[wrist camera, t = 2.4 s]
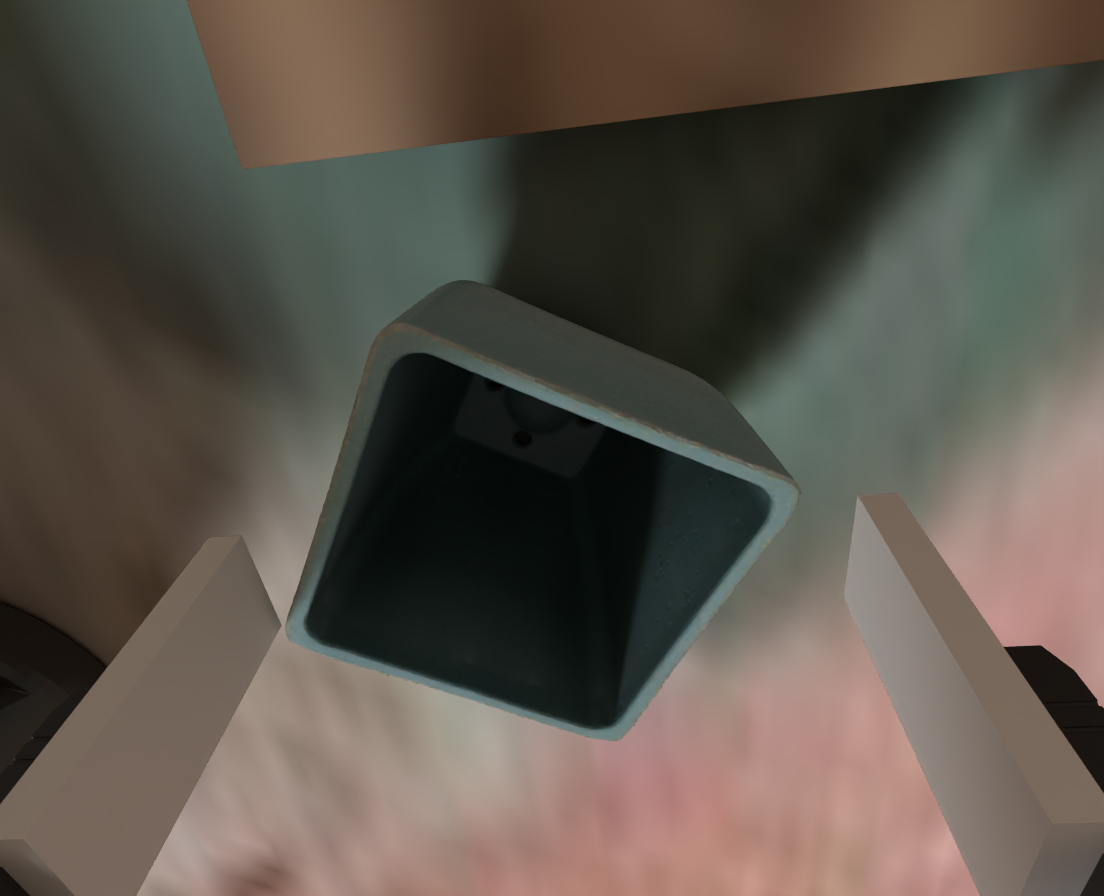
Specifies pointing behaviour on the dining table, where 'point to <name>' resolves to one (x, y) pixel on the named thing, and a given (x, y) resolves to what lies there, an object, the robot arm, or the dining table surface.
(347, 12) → the walnut board
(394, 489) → the flower pot
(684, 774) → the dining table surface
